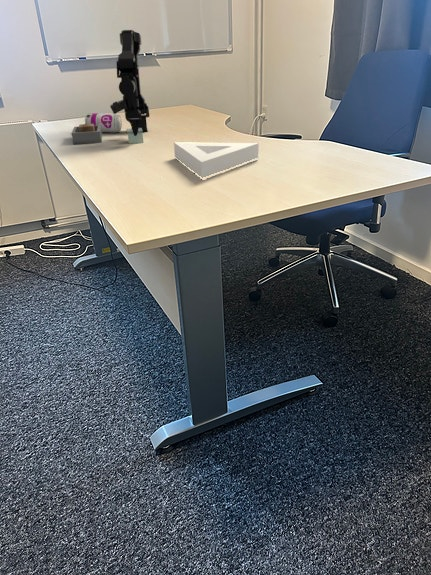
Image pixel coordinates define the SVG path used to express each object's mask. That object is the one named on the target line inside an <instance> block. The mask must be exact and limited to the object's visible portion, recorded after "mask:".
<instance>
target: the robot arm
mask: <svg viewBox="0 0 431 575" xmlns="http://www.w3.org/2000/svg"><path fill="white" fill-rule="evenodd" d="M119 43H120V45H121V53H119V54H118V57H117V60H116V78H117V79H121V80H120V82H119V84H118V90H119V92H120V94H121V95H123V96H122V99H121V100H118V101H114V102H112V104H110V105H109V107H110V109H111V111H112V113H114V114H118V113H119V112H121V111H124V117H125V120H126V121H127V122H128V123H129V124H130V127H131V128H132V130H133V134H134V136H137V133H138V129H139V128H142V131H143V133H146V132H149V130H148V124H147V118H150V111H149V110H150V109H149V106H148V105H147V104H148V103H147V102H146V99H145V97H144V96H143V94H142V92H141V90H142V89H141V80H140V70H139V69H140V67H139V59H138V56H139V54H140V51H141V46H142V36H141V34H140V33H139V32H136V31H135V30H133V29H123V30H121V32H120V33H119Z"/></svg>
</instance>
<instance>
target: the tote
mask: <svg viewBox="0 0 431 575" xmlns="http://www.w3.org/2000/svg"><path fill="white" fill-rule="evenodd" d="M78 127H79V126H74V127H73V129H72V131H71V138H72V143H73V145H84V144H85V145H87V144H100V143H102V140H103V132H102V130H101V125H95V126H94V129H95V131H91V132H79V128H78Z"/></svg>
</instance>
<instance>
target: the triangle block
mask: <svg viewBox="0 0 431 575" xmlns="http://www.w3.org/2000/svg"><path fill="white" fill-rule="evenodd" d="M173 150H174V158H175V157H176V158H177V159H178V160H180V161H181V162H182V163H184V164H185V165H186V166H187V167H189V168H190V169H191V170H193V171H194V172H195V173H197V174H198V175H199V176H201V177H202V178H203V177H206V176H209V175H211V174H214V173H217V172H220V171H223V170H226V169H229V168H231V167H234V166H236V165H239V164H242V163H244V162H247V161H250V160H252V159H255V158H258V159H259V143H257V142H256V143H255V142H193V141H192V142H188V141H187V142H185V141H183V142H182V141H181V142H177V141H175V142H173Z"/></svg>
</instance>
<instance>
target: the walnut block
mask: <svg viewBox="0 0 431 575" xmlns="http://www.w3.org/2000/svg"><path fill="white" fill-rule="evenodd" d="M77 127H78V128H79V132H91V131H95V129H94V124H85V123H82V124H79V125H78V126H77Z"/></svg>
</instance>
